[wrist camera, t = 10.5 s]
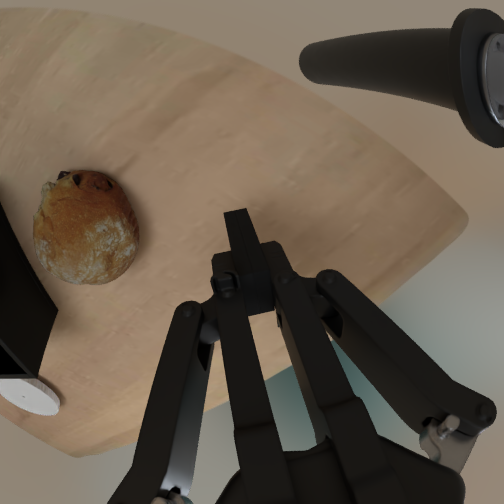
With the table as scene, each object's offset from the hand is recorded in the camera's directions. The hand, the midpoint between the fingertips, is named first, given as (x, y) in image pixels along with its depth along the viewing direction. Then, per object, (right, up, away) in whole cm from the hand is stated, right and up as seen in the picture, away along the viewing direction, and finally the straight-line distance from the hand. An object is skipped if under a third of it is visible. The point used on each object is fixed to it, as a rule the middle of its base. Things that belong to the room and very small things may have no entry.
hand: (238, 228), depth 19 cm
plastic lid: (-39, -25, +16) cm, 49 cm away
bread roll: (-14, +2, +4) cm, 15 cm away
